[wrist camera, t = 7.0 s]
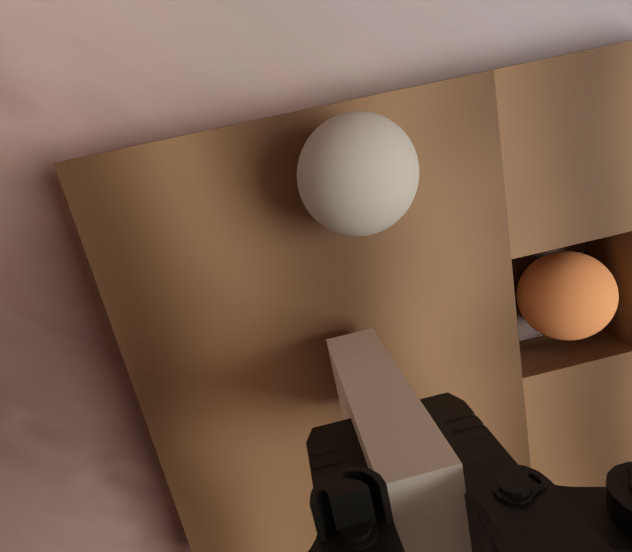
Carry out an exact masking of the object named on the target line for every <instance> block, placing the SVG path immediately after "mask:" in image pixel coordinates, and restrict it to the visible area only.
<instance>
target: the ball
mask: <svg viewBox="0 0 632 552" xmlns="http://www.w3.org/2000/svg"><path fill="white" fill-rule="evenodd" d="M618 301H619V293H618V287H617V284H616V281H615V279H614V277H613V275H612V274H611V272H610V271H609V270H608V269H607V268H606V267H605V266H604V265H603V264H602V263H601V262H599V261H598V260H596V259H595V258H593V257H591V256H589V255H586V254H583V253H579V252H573V251H560V252H554V253H550V254H547V255H545V256H543V257H540V258H539V259H537V260H535V261H534V262H533V263H532V264H531V265H529V266H528V268H527V269H526V270H525V271H524V273H523V274H522V276H521V278H520V280H519V283H518V287H517V303H518V307H519V310H520V312H521V314H522V316H523V317H524V319H525V320H526V321H527V323H528V324H529V325H530V326H531V327H533V328H534V329H535V330H536V331H538V332H540V333H541V334H543V335H546V336H548V337H551V338H554V339H559V340H579V339H583V338H587V337H589V336H592V335H594V334H596V333H597V332H599V331H601V330H602V329H603V328H604V327H605V326H606V325H607V324H608V323H609V322H610V321H611V319H612V318H613V316H614V314H615V312H616V310H617V306H618Z"/></svg>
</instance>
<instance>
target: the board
mask: <svg viewBox="0 0 632 552" xmlns="http://www.w3.org/2000/svg"><path fill="white" fill-rule="evenodd" d="M353 111H366V112H372V113H376V114H379V115H382V116H384V117H386V118H388V119H390V120H391V121H393V122H394V123H396V124H397V125H398V126H399V127H400V128H402V130H403V131H404V132H405V133H406V134H407V136H408V137H409V138H410V140H411V142H412V144H413V146H414V148H415V151H416V153H417V157H418V162H419V183H418V188H417V191H416V195H415V197H414V199H413V202H412V203H411V205H410V207H409V209H408V210H407V211H406V213H405V214H404V215H403V216H402V217H401V218H400V219H399V220H398V221H397V222H396V223H394V224H393V225H392V226H390V227H389V228H387V229H385V230H383V231H381V232H379V233H375V234H372V235H367V236H355V237H354V236H346V235H341V234H338V233H335V232H333V231H331V230H329V229H327V228H325V227H324V226H322V225H321V224H320V223H318V222H317V221H316V220H315V219H314V218H313V217H312V216H311V214H310V213H309V212H308V211H307V209H306V207H305V206H304V204H303V202H302V199H301V197H300V194H299V190H298V185H297V165H298V160H299V156H300V153H301V151H302V148H303V146H304V144H305V143H306V141H307V139H308V138H309V137H310V135H311V134H312V133H313V132H314V131H315V129H316V128H317V127H319V126H320V125H321V124H322V123H324V122H325V121H327V120H328V119H330V118H332V117H334V116H337V115H339V114H343V113H346V112H353ZM53 164H54V167H55V169H56V172H57V175H58V178H59V181H60V183H61V186H62V189H63V192H64V195H65V197H66V200H67V203H68V206H69V209H70V211H71V214H72V217H73V220H74V223H75V225H76V228H77V231H78V234H79V237H80V239H81V242H82V245H83V248H84V251H85V253H86V256H87V259H88V262H89V265H90V268H91V270H92V273H93V276H94V279H95V282H96V284H97V287H98V290H99V293H100V296H101V298H102V301H103V304H104V307H105V310H106V312H107V315H108V318H109V321H110V324H111V326H112V329H113V332H114V335H115V338H116V340H117V343H118V346H119V349H120V352H121V355H122V357H123V360H124V363H125V366H126V369H127V371H128V374H129V377H130V380H131V383H132V385H133V388H134V391H135V394H136V397H137V399H138V402H139V405H140V408H141V411H142V413H143V416H144V419H145V422H146V425H147V427H148V430H149V433H150V436H151V439H152V442H153V444H154V447H155V450H156V453H157V456H158V458H159V461H160V464H161V467H162V470H163V472H164V475H165V478H166V481H167V484H168V486H169V489H170V492H171V495H172V498H173V500H174V503H175V506H176V509H177V512H178V514H179V517H180V520H181V523H182V526H183V529H184V531H185V534H186V537H187V540H188V543H189V545H190V548H191V551H192V552H308V551H309V549H310V548H311V547H312V545H313V543H314V541H315V539H316V536H317V531H316V527H315V523H314V519H313V516H312V512H311V508H310V504H309V503H310V494H311V491H312V489H313V483H312V477H311V470H310V464H309V458H308V452H307V446H306V441H307V439H308V437H309V434H310V432H311V430H312V428H314V427H318V426H322V425H326V424H330V423H334V422H338V421H342V420H344V418H343V415H342V411H341V406H340V401H339V397H338V392H337V388H336V383H335V378H334V374H333V369H332V365H331V360H330V355H329V351H328V346H327V341H326V339H330V338H334V337H338V336H342V335H347V334H351V333H355V332H359V331H363V330H367V329H371V328H373V330H374V331H375V333H376V334H377V336H378V337H379V339H380V340H381V342H382V343H383V345H384V346H385V348H386V349H387V351H388V353H389V354H390V356H391V357H392V359H393V360H394V362H395V363H396V365H397V366H398V368H399V369H400V371H401V372H402V374H403V375H404V377H405V378H406V380H407V381H408V383H409V384H410V386H411V387H412V389H413V390H414V392H415V393H416V395H417V396H418V398H419V399H423V398H427V397H431V396H435V395H439V394H443V393H447V392H448V393H450V394H452V395H454V396H456V397H458V398H460V399H462V400H464V401H465V402H466V403H467V405H468V406H469V407H470V408H471V409H472V410H473V412H474V413H475V415H476V416H478V418H479V419H480V420H481V421H482V422H483V424H484V426H486V427H487V428H488V429H489V431H490V432H491V433H492V434H493V435H494V436H495V438H496V439H497V440H498V441H499V442H500V444H501V445H502V446H503V447H504V448H505V449H506V451H507V452H508V453H509V454H510V455H511V457H512V458H513V459H514V460H515V461H516V462H517V464H518V465H524V466H527V467H530V468H532V469H534V470H537V471H539V472H541V473H542V474H543V475H544V476H546V477H547V478H548V479H550V480H551V481H552V483H553V484H555V485H559V486H570V487H606V477H607V473H608V472H609V471H610V470H611V469H612V468H613V467H614V466H616V465H619V464H622V463H625V462H632V41H627V42H622V43H618V44H613V45H608V46H603V47H599V48H594V49H589V50H585V51H580V52H575V53H570V54H566V55H561V56H556V57H552V58H547V59H542V60H537V61H533V62H528V63H523V64H519V65H514V66H509V67H504V68H500V69H495V70H490V71H486V72H481V73H476V74H471V75H467V76H462V77H457V78H453V79H448V80H443V81H438V82H434V83H429V84H424V85H420V86H415V87H410V88H405V89H401V90H396V91H391V92H386V93H382V94H377V95H372V96H368V97H363V98H358V99H353V100H349V101H344V102H339V103H335V104H330V105H325V106H320V107H316V108H311V109H306V110H302V111H297V112H292V113H287V114H283V115H278V116H273V117H269V118H264V119H259V120H254V121H250V122H245V123H240V124H236V125H231V126H226V127H221V128H217V129H212V130H207V131H203V132H198V133H193V134H188V135H184V136H179V137H174V138H169V139H165V140H160V141H155V142H151V143H146V144H141V145H136V146H132V147H127V148H122V149H118V150H113V151H108V152H103V153H99V154H94V155H89V156H85V157H80V158H75V159H70V160H66V161H61V162H56V163H53ZM583 242H587V245H588V255H589V256H591V257H593V258H595V259H596V260H598V261H599V262H601V263H602V264H603V265H604V266H605V267H606V268H607V269H608V270H609V271H610V272H611V274H612V275H613V277H614V279H615V281H616V284H617V287H618V293H619V301H618V306H617V310H616V312H615V314H614V316H613V318H612V319H611V321H610V322H609V323H608V324H607V325H606V326H605V327H604V328H603V329H602V330H601V331H599V332H597V333H596V334H594V335H592V336H589V337H587V338H583V339H579V340H559V339H554V338H551V337H548V336H542V337H538V338H534V339H530V340H526V341H522V342H519V335H518V324H517V313H516V302H515V292H514V281H513V270H512V259H515V258H519V257H524V256H528V255H532V254H536V253H541V252H545V251H549V250H553V249H558V248H562V247H566V246H570V245H575V244H579V243H583Z"/></svg>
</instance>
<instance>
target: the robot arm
mask: <svg viewBox="0 0 632 552" xmlns="http://www.w3.org/2000/svg"><path fill="white" fill-rule="evenodd" d="M326 341H327V346H328V351H329V355H330V360H331V365H332V369H333V374H334V378H335V383H336V388H337V392H338V397H339V401H340V406H341V411H342V415H343V418H344V420H342V421H338V422H334V423H330V424H326V425H322V426H318V427H314V428H312V430H311V432H310V434H309V437H308V439H307V441H306V446H307V452H308V458H309V464H310V470H311V477H312V483H313V489H312V491H311V494H310V503H309V504H310V508H311V512H312V516H313V519H314V523H315V527H316V531H317V536H316V539H315V541H314V543H313V545H312V547H311V548H310V549H309V551H308V552H632V462H625V463H622V464H619V465H616V466H614V467H613V468H612V469H611V470H610V471H609V472H608V473H607V477H606V487H570V486H559V485H555V484H553V483H552V481H551V480H550V479H548V478H547V477H546V476H544V475H543V474H542V473H541V472H539V471H537V470H534V469H532V468H530V467H527V466H524V465H518V464H517V462H516V461H515V460H514V459H513V458H512V457H511V455H510V454H509V453H508V452H507V451H506V449H505V448H504V447H503V446H502V445H501V444H500V442H499V441H498V440H497V439H496V438H495V436H494V435H493V434H492V433H491V432H490V431H489V429H488V428H487V427H486V426H484V424H483V422H482V421H481V420H480V419H479V418H478V416H476V415H475V413H474V412H473V410H472V409H471V408H470V407H469V406H468V405H467V403H466V402H465V401H464V400H462V399H460V398H458V397H456V396H454V395H452V394H450V393H448V392H447V393H443V394H439V395H435V396H431V397H427V398H423V399H419V398H418V396H417V395H416V393H415V392H414V390H413V389H412V387H411V386H410V384H409V383H408V381H407V380H406V378H405V377H404V375H403V374H402V372H401V371H400V369H399V368H398V366H397V365H396V363H395V362H394V360H393V359H392V357H391V356H390V354H389V353H388V351H387V349H386V348H385V346H384V345H383V343H382V342H381V340H380V339H379V337H378V336H377V334H376V333H375V331H374V330H373V328H371V329H367V330H363V331H359V332H355V333H351V334H347V335H342V336H338V337H334V338H330V339H326Z"/></svg>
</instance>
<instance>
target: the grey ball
mask: <svg viewBox="0 0 632 552" xmlns="http://www.w3.org/2000/svg"><path fill="white" fill-rule="evenodd" d="M418 183H419V162H418V157H417V153H416V151H415V148H414V146H413V144H412V142H411V140H410V138H409V137H408V136H407V134H406V133H405V132H404V131H403V130H402V128H400V127H399V126H398V125H397V124H396V123H394V122H393V121H391V120H390V119H388V118H386V117H384V116H382V115H379V114H376V113H372V112H366V111H353V112H346V113H343V114H339V115H337V116H334V117H332V118H330V119H328V120H327V121H325V122H324V123H322V124H321V125H320V126H319V127H317V128H316V129H315V131H314V132H313V133H312V134H311V135H310V137H309V138H308V139H307V141H306V143H305V144H304V146H303V148H302V151H301V153H300V156H299V160H298V165H297V185H298V190H299V194H300V197H301V199H302V202H303V204H304V206H305V207H306V209H307V211H308V212H309V213H310V214H311V216H312V217H313V218H314V219H315V220H316V221H317V222H318V223H320V224H321V225H322V226H324V227H325V228H327V229H329V230H331V231H333V232H335V233H338V234H341V235H346V236H354V237H355V236H367V235H372V234H375V233H379V232H381V231H383V230H385V229H387V228H389V227H390V226H392V225H393V224H394V223H396V222H397V221H398V220H399V219H400V218H401V217H402V216H403V215H404V214H405V213H406V211H407V210H408V209H409V207H410V205H411V203H412V202H413V199H414V197H415V195H416V191H417V188H418Z"/></svg>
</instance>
